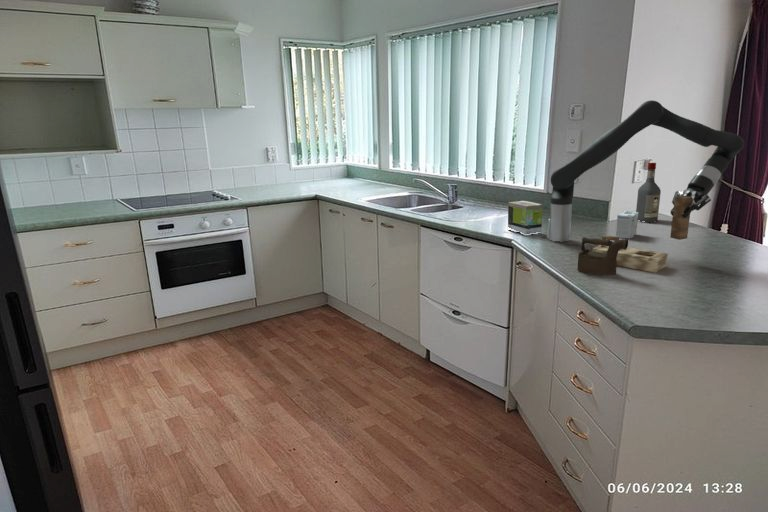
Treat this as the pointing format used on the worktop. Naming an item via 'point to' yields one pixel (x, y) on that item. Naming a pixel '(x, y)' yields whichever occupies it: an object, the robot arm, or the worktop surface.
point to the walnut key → (680, 218)
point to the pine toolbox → (636, 257)
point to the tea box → (525, 216)
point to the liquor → (648, 197)
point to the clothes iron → (600, 256)
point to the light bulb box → (627, 224)
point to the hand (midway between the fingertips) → (677, 215)
